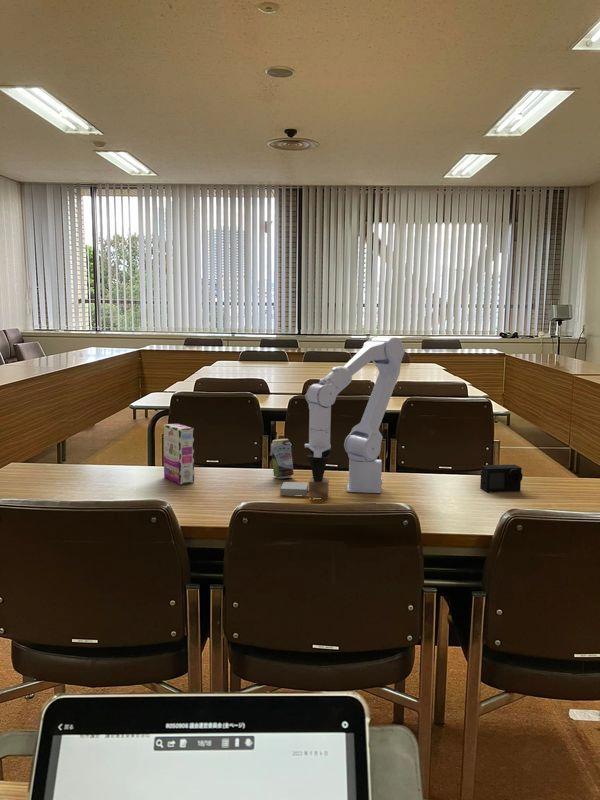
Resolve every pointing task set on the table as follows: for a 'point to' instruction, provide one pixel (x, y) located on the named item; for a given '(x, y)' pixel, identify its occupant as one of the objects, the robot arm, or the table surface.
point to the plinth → (294, 488)
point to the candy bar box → (179, 453)
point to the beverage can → (282, 458)
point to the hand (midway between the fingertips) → (318, 478)
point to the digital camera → (500, 478)
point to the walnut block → (319, 488)
